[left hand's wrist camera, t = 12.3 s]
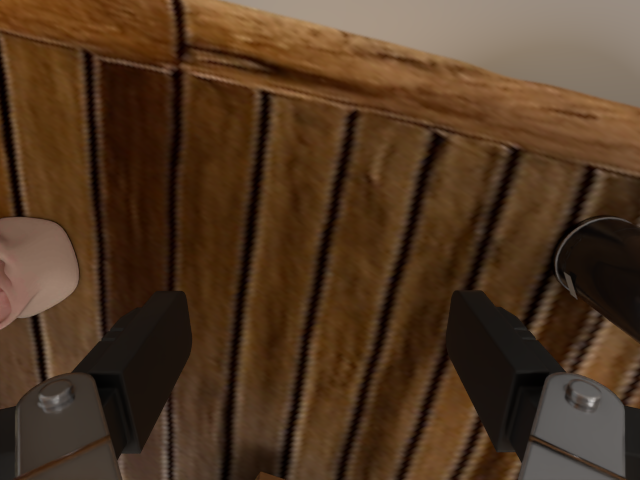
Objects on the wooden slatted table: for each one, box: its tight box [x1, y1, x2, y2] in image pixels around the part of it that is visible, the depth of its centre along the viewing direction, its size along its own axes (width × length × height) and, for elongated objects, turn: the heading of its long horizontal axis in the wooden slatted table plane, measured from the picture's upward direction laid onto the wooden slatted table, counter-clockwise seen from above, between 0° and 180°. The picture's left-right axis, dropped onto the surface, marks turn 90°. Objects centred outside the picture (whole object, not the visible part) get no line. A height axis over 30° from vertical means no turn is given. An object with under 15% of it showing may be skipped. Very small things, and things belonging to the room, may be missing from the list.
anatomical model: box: [0, 217, 79, 329], centre depth 41 cm, size 13×4×12 cm
